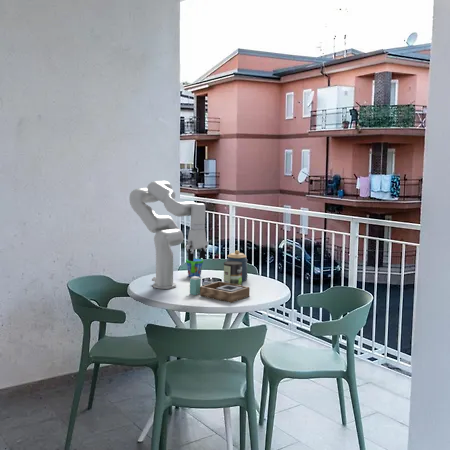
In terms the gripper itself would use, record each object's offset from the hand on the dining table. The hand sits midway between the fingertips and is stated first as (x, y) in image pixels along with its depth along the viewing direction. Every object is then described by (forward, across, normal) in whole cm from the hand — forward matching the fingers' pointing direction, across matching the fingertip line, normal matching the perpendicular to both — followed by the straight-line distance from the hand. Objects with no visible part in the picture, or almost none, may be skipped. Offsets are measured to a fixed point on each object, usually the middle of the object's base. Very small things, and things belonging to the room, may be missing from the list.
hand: (196, 259), depth 268 cm
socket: (+17, -6, +18) cm, 25 cm away
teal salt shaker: (+18, 0, 0) cm, 19 cm away
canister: (+19, -42, -3) cm, 46 cm away
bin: (+18, -6, +15) cm, 24 cm away
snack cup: (+19, -32, -28) cm, 47 cm away
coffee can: (+19, -24, +7) cm, 31 cm away
